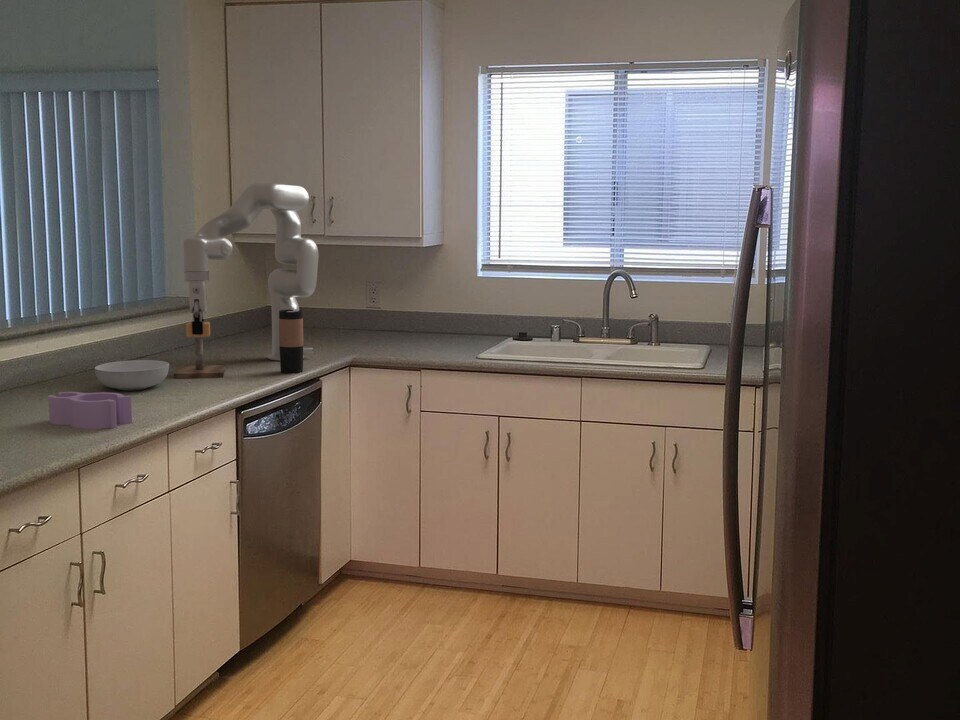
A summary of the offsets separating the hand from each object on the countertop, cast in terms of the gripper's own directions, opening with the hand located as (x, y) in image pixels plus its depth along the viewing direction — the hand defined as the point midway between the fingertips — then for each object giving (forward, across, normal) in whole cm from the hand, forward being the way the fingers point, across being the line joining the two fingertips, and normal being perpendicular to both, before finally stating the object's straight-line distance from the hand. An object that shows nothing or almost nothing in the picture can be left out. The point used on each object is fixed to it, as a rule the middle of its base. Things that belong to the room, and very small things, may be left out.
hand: (198, 332), depth 334 cm
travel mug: (+14, 0, -29) cm, 32 cm away
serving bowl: (+14, -22, +18) cm, 31 cm away
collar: (+1, 0, 0) cm, 1 cm away
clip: (+14, -71, +23) cm, 76 cm away
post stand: (+13, 0, 0) cm, 13 cm away
